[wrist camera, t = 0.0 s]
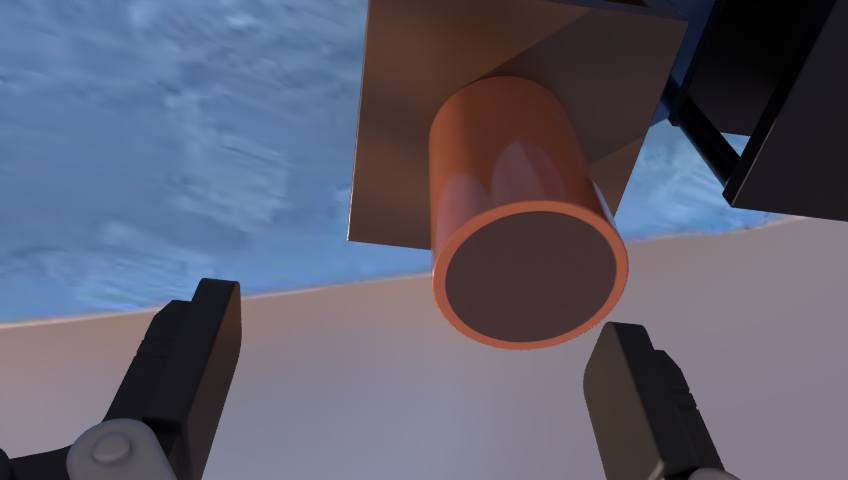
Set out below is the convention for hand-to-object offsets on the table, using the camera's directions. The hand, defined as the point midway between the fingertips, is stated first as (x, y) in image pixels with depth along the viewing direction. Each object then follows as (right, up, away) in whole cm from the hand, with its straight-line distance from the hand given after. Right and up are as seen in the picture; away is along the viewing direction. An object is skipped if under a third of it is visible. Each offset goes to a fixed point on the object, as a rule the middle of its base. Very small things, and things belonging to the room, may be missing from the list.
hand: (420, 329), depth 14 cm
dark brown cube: (+3, +11, +20) cm, 23 cm away
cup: (+3, +6, +13) cm, 14 cm away
